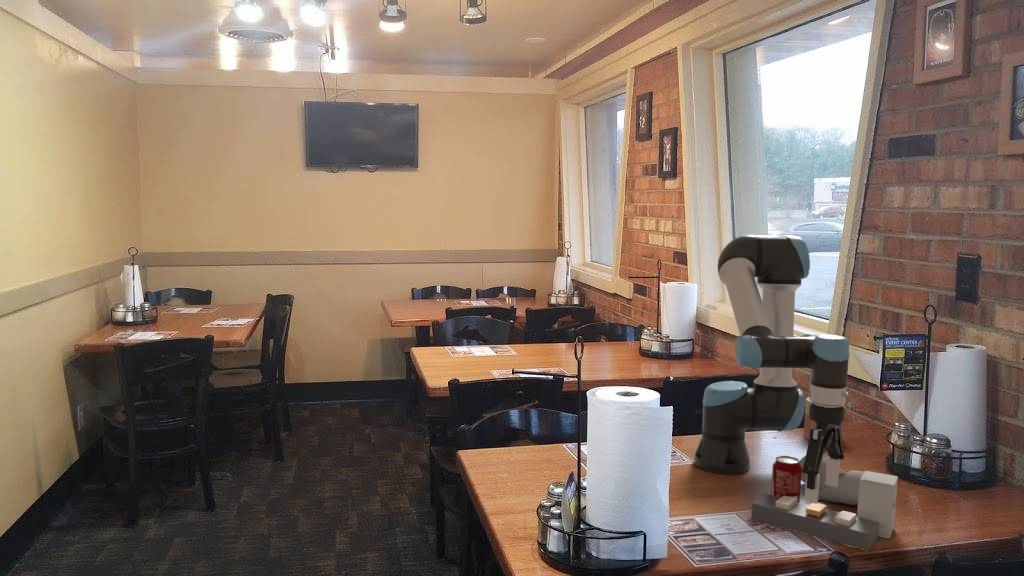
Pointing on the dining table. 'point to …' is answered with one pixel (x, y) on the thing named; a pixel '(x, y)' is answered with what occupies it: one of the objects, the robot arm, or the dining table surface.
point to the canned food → (809, 420)
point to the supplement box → (878, 500)
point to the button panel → (816, 521)
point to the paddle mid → (816, 509)
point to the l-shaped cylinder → (846, 485)
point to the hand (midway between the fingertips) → (821, 493)
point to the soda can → (786, 477)
